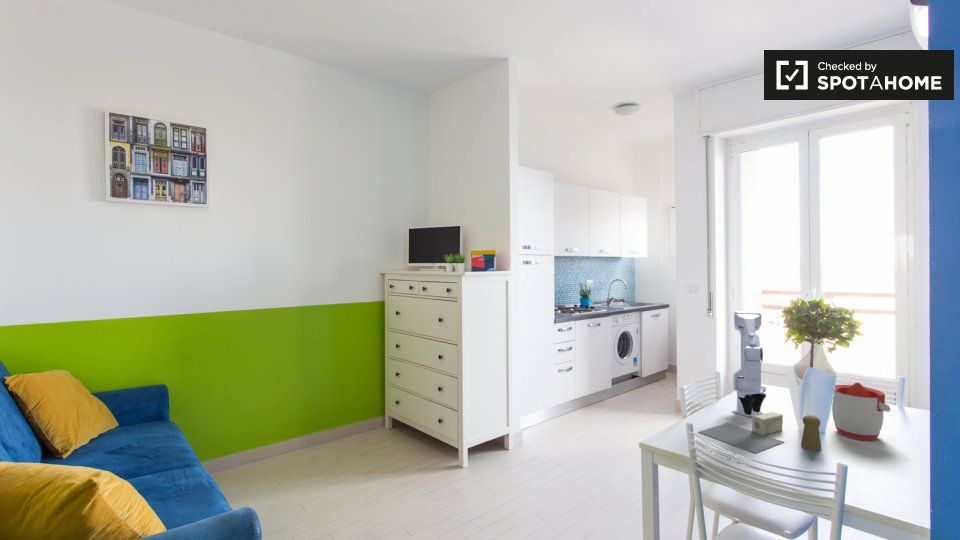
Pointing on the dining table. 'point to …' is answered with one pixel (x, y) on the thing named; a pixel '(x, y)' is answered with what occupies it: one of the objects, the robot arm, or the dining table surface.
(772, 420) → the skincare box
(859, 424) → the citrus juicer
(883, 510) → the dining table surface
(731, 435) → the mat
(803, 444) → the cork
